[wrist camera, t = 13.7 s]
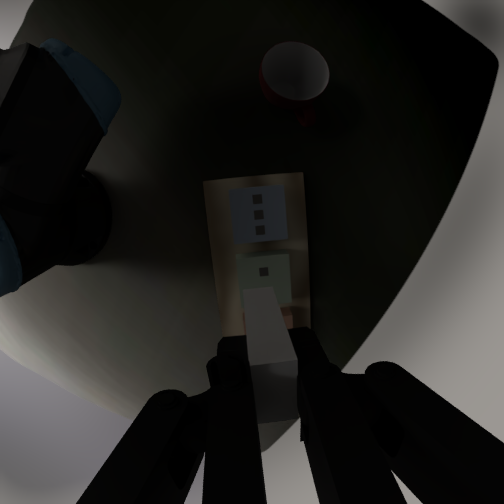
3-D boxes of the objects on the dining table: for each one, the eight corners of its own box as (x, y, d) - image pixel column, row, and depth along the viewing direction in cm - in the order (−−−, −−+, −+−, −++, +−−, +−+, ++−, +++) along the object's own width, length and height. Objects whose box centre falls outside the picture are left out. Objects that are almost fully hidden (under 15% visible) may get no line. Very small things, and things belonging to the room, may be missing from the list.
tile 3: (234, 240, 41) (234, 244, 39) (228, 189, 40) (228, 190, 37) (284, 234, 42) (288, 238, 39) (280, 184, 40) (283, 185, 37)
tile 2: (241, 300, 43) (241, 308, 41) (235, 254, 42) (235, 259, 39) (288, 294, 44) (291, 302, 41) (285, 248, 42) (288, 253, 39)
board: (226, 354, 48) (226, 363, 45) (203, 181, 41) (201, 181, 38) (309, 344, 48) (313, 353, 46) (301, 172, 41) (305, 172, 39)
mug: (329, 116, 40) (354, 101, 30) (284, 142, 40) (298, 132, 30) (289, 60, 37) (304, 31, 27) (243, 84, 38) (246, 58, 28)
